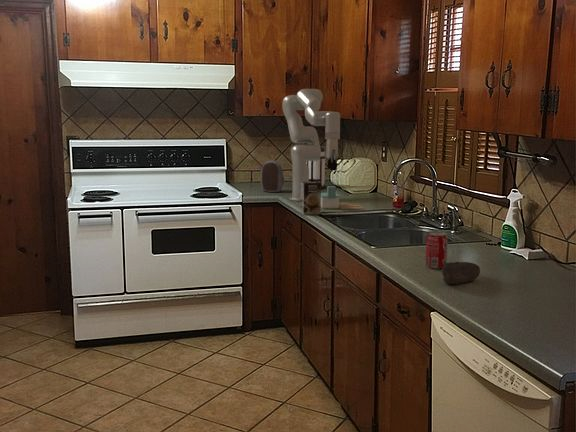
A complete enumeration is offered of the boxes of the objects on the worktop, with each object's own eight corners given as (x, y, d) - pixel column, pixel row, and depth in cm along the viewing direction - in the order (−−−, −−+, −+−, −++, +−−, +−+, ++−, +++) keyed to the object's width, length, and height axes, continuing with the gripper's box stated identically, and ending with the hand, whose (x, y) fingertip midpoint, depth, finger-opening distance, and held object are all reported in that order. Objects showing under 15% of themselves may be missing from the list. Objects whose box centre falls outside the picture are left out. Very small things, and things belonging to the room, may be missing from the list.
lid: (318, 194, 333) (318, 183, 332) (335, 193, 334) (336, 183, 332) (322, 198, 318) (322, 187, 317) (340, 198, 319) (341, 187, 317)
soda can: (442, 264, 214) (444, 231, 212) (448, 270, 207) (450, 235, 205) (422, 264, 214) (424, 231, 212) (428, 270, 207) (429, 235, 205)
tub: (318, 205, 334) (319, 194, 332) (335, 204, 334) (335, 194, 333) (322, 208, 322) (322, 197, 321) (339, 208, 323) (339, 197, 322)
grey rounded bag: (258, 192, 379) (258, 160, 375) (263, 190, 387) (263, 158, 383) (281, 193, 374) (281, 160, 370) (286, 191, 382) (286, 159, 378)
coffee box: (303, 215, 304) (304, 183, 301) (300, 212, 310) (300, 181, 307) (321, 214, 307) (321, 182, 304) (317, 212, 313) (317, 180, 310)
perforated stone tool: (474, 278, 198) (475, 257, 197) (485, 282, 194) (486, 261, 192) (435, 283, 193) (436, 261, 191) (446, 287, 188) (447, 265, 187)
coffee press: (298, 187, 401) (298, 141, 395) (319, 185, 408) (319, 140, 402) (311, 190, 386) (311, 143, 380) (332, 189, 393) (333, 142, 387)
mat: (336, 204, 337) (336, 203, 337) (357, 203, 338) (357, 203, 338) (342, 209, 319) (342, 209, 319) (364, 209, 321) (364, 208, 320)
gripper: (322, 135, 322) (322, 167, 325) (328, 137, 305) (327, 171, 308) (336, 135, 322) (336, 167, 325) (342, 137, 305) (342, 171, 308)
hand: (332, 169), depth 317 cm, fingers open, 9 cm apart
